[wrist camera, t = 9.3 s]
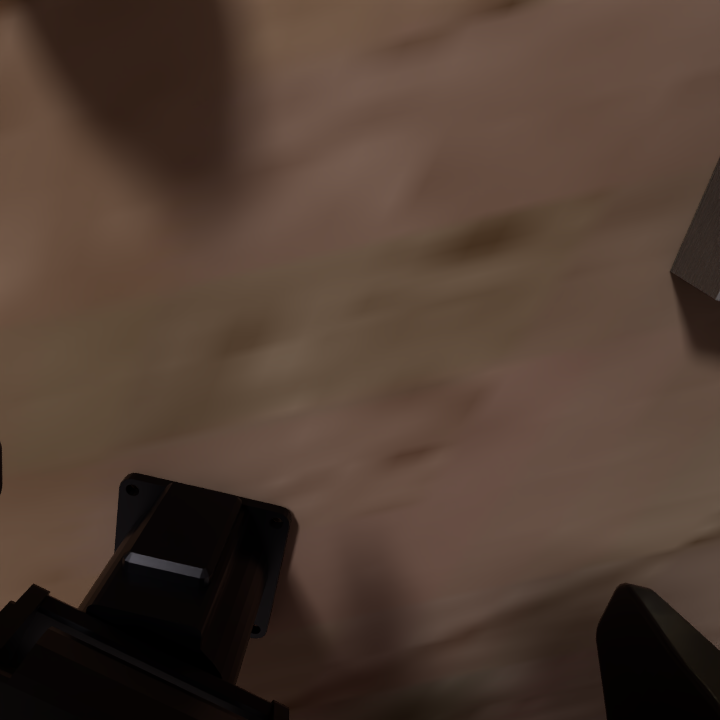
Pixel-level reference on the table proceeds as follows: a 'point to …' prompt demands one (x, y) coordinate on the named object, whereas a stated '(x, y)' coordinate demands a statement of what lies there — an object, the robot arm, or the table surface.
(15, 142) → the table surface
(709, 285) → the grey gold-framed plate fixture
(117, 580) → the robot arm
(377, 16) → the table surface
